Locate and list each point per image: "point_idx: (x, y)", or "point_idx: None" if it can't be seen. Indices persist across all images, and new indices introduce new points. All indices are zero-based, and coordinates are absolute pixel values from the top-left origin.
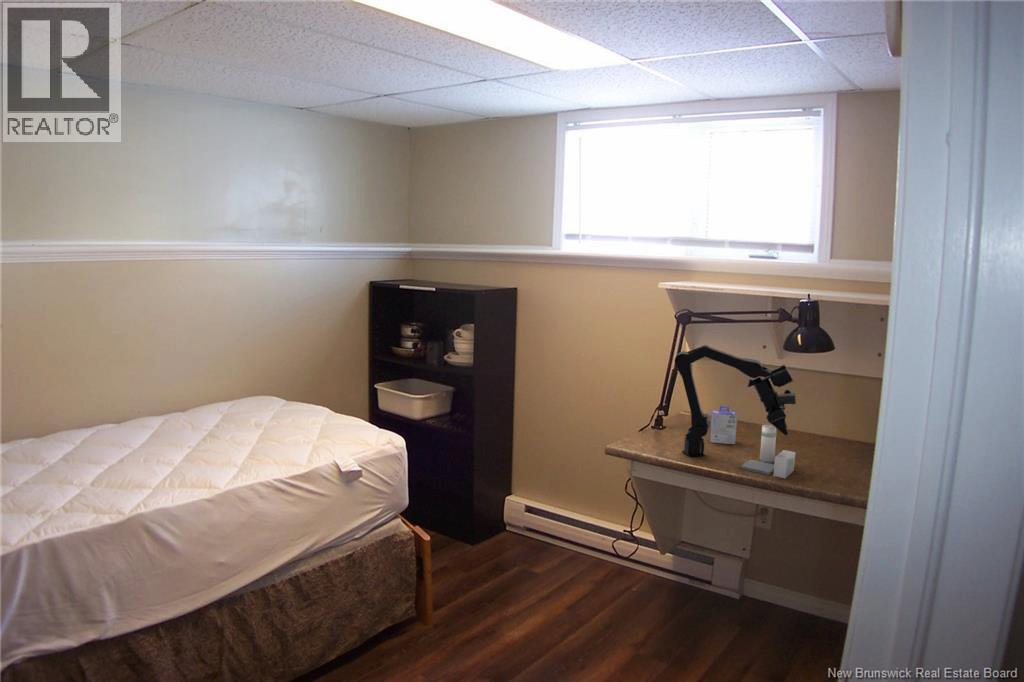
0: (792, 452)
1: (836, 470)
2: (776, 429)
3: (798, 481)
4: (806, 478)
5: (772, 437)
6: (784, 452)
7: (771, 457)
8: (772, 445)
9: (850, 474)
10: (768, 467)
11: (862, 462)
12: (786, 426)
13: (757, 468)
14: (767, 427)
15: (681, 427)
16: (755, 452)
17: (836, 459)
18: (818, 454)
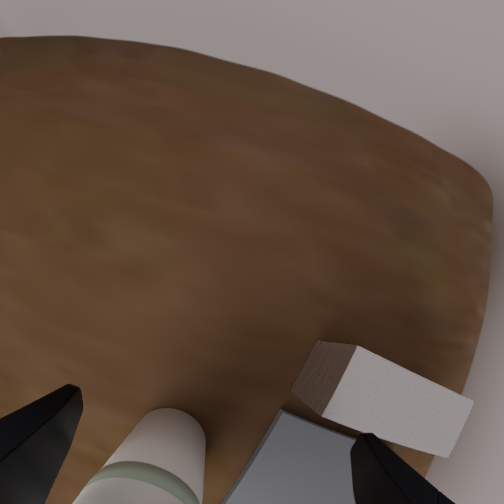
0: (367, 365)
1: (253, 139)
2: (147, 497)
3: (435, 339)
4: (398, 299)
5: (197, 497)
6: (376, 415)
7: (201, 437)
8: (196, 465)
9: (293, 107)
10: (328, 457)
11: (138, 43)
12: (75, 395)
13: (349, 496)
14: None
15: None
16: None
17: (102, 107)
18: (41, 160)
